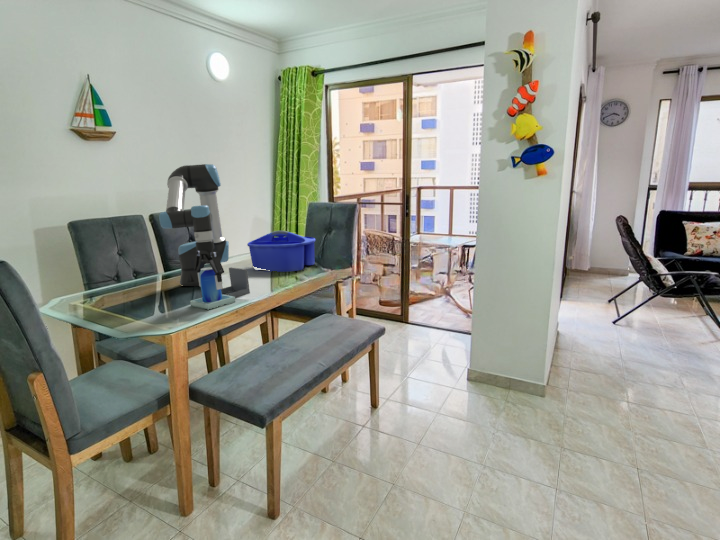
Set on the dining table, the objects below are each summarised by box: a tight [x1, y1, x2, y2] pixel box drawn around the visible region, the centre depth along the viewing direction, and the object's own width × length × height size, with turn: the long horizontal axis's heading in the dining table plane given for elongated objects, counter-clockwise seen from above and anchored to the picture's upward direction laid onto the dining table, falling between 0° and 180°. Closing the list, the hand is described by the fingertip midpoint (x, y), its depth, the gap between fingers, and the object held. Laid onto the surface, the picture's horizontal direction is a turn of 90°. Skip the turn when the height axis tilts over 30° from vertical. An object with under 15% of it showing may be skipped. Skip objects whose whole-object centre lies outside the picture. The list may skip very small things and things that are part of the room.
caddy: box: [246, 230, 316, 273], centre depth 273 cm, size 32×45×23 cm
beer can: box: [199, 266, 222, 304], centre depth 194 cm, size 8×8×16 cm
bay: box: [221, 267, 251, 298], centre depth 211 cm, size 13×11×12 cm
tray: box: [189, 294, 236, 311], centre depth 196 cm, size 14×14×2 cm
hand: (211, 287), depth 194 cm, fingers open, 13 cm apart
